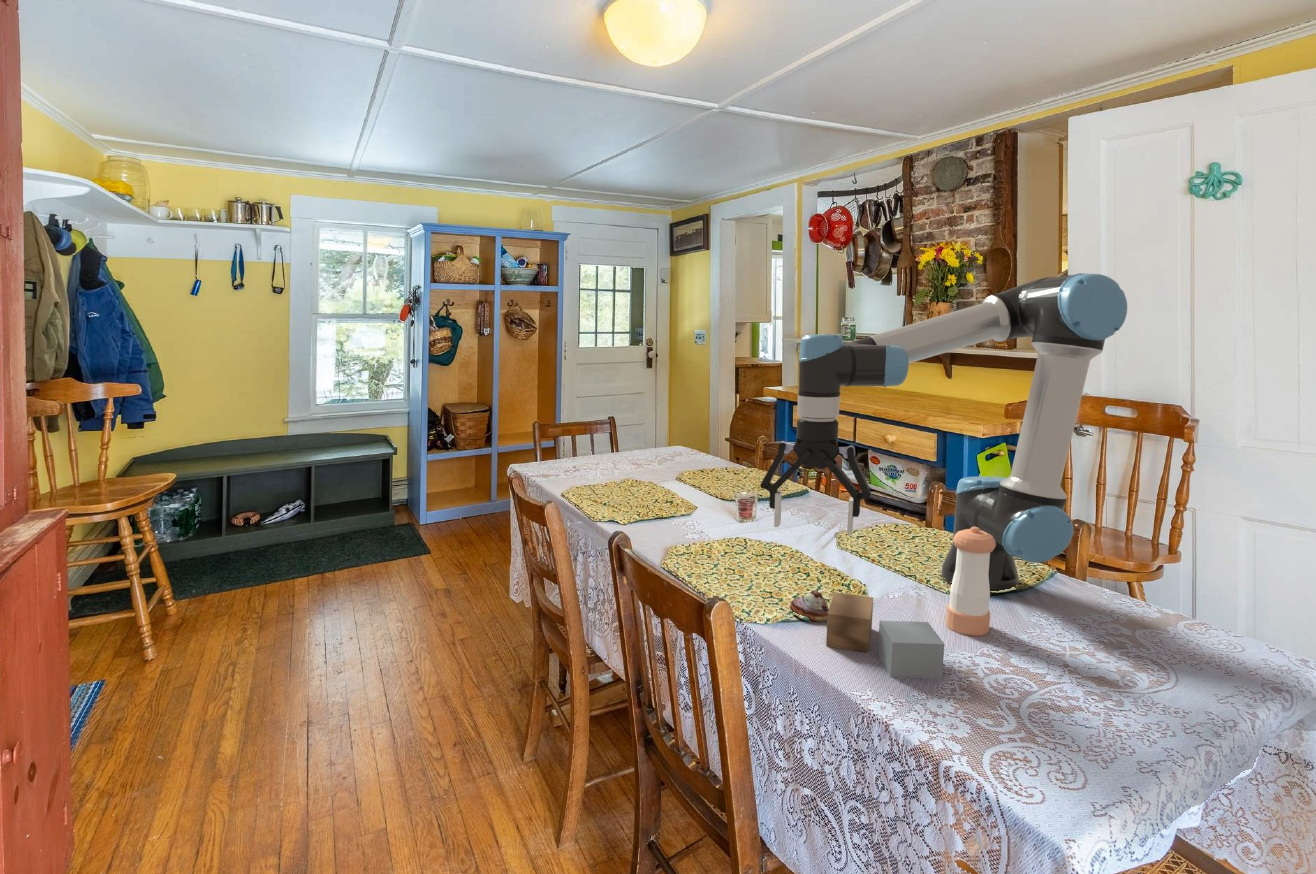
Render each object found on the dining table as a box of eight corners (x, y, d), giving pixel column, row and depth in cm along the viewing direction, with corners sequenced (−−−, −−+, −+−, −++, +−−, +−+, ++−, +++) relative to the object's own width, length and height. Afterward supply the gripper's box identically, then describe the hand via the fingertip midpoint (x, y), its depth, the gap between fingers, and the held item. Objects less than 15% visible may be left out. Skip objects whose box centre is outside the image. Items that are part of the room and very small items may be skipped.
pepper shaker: (948, 615, 131) (956, 519, 127) (990, 623, 127) (999, 525, 124) (943, 630, 124) (950, 529, 121) (987, 639, 121) (996, 535, 118)
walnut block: (871, 628, 125) (873, 597, 124) (868, 652, 116) (869, 619, 115) (832, 622, 127) (834, 592, 126) (826, 645, 118) (827, 613, 117)
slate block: (925, 655, 115) (928, 622, 114) (941, 679, 108) (944, 644, 106) (877, 653, 116) (879, 620, 115) (890, 677, 108) (892, 642, 107)
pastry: (837, 622, 128) (838, 596, 127) (799, 625, 127) (800, 600, 126) (818, 605, 136) (820, 581, 135) (783, 608, 134) (784, 584, 134)
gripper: (889, 419, 125) (882, 530, 128) (755, 412, 134) (753, 516, 137) (887, 425, 118) (880, 542, 121) (746, 417, 127) (744, 527, 130)
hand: (812, 529), depth 129 cm, fingers open, 13 cm apart
